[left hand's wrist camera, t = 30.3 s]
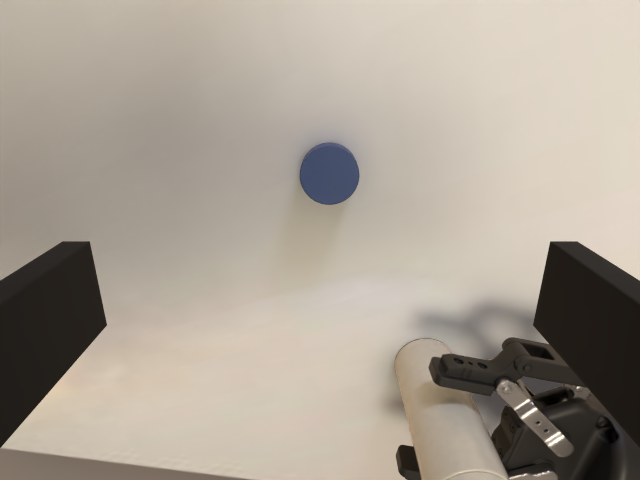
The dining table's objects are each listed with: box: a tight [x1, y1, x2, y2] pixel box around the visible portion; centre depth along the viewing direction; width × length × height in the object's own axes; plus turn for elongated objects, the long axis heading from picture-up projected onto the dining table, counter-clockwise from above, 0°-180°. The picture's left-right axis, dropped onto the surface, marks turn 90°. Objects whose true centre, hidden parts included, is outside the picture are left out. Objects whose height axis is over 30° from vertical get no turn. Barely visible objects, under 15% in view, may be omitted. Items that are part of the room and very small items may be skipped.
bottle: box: [395, 339, 510, 480], centre depth 27 cm, size 5×5×18 cm
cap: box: [300, 143, 359, 205], centre depth 29 cm, size 4×4×2 cm
